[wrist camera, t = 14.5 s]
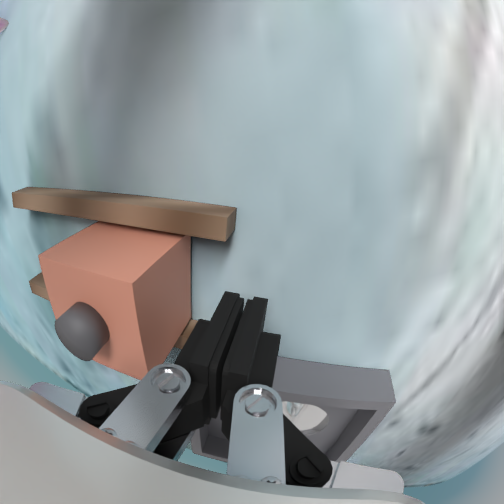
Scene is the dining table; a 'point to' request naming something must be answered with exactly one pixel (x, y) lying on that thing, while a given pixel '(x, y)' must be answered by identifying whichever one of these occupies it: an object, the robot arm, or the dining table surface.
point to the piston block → (120, 294)
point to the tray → (320, 406)
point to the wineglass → (305, 417)
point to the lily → (3, 24)
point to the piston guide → (130, 218)
